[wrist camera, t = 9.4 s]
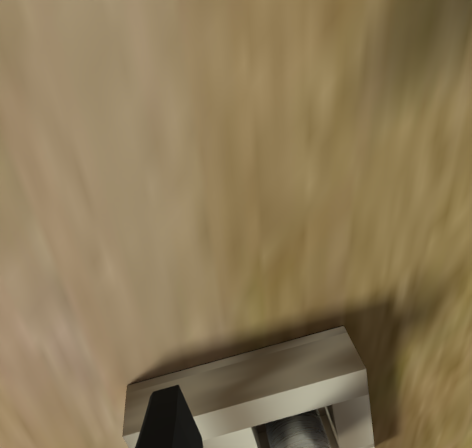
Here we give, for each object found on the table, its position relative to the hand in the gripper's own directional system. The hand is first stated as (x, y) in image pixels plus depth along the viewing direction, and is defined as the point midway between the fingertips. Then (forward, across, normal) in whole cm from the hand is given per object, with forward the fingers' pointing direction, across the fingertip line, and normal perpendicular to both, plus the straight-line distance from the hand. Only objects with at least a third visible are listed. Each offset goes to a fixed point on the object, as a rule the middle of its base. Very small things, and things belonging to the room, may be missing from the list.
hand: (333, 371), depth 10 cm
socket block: (+10, +3, +15) cm, 18 cm away
